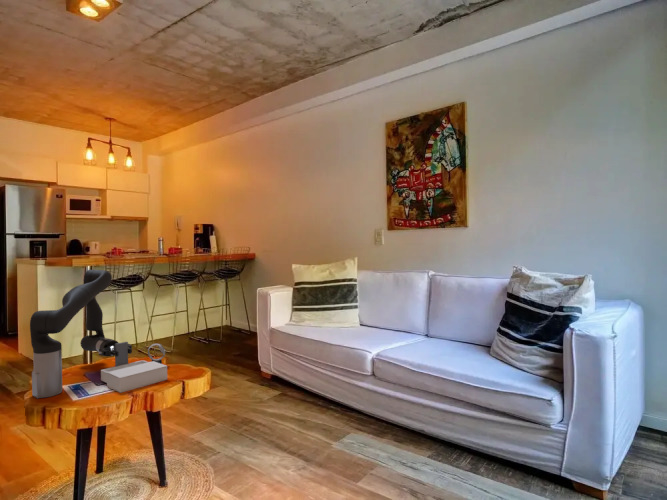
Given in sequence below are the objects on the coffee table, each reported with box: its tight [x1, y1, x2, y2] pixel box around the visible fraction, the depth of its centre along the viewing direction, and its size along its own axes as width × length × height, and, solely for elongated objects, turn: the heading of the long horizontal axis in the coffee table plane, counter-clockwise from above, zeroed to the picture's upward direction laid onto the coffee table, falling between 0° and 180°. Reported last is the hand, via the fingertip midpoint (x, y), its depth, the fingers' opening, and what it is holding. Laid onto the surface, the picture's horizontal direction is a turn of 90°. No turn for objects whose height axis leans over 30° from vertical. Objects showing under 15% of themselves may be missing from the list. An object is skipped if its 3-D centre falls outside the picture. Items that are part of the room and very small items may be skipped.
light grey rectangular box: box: [106, 360, 168, 393], centre depth 174 cm, size 20×12×6 cm, turn 142°
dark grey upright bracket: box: [100, 341, 149, 384], centre depth 180 cm, size 18×13×14 cm
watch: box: [147, 343, 167, 364], centre depth 197 cm, size 6×8×11 cm
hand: (124, 352), depth 182 cm, fingers closed on dark grey upright bracket, 5 cm apart
